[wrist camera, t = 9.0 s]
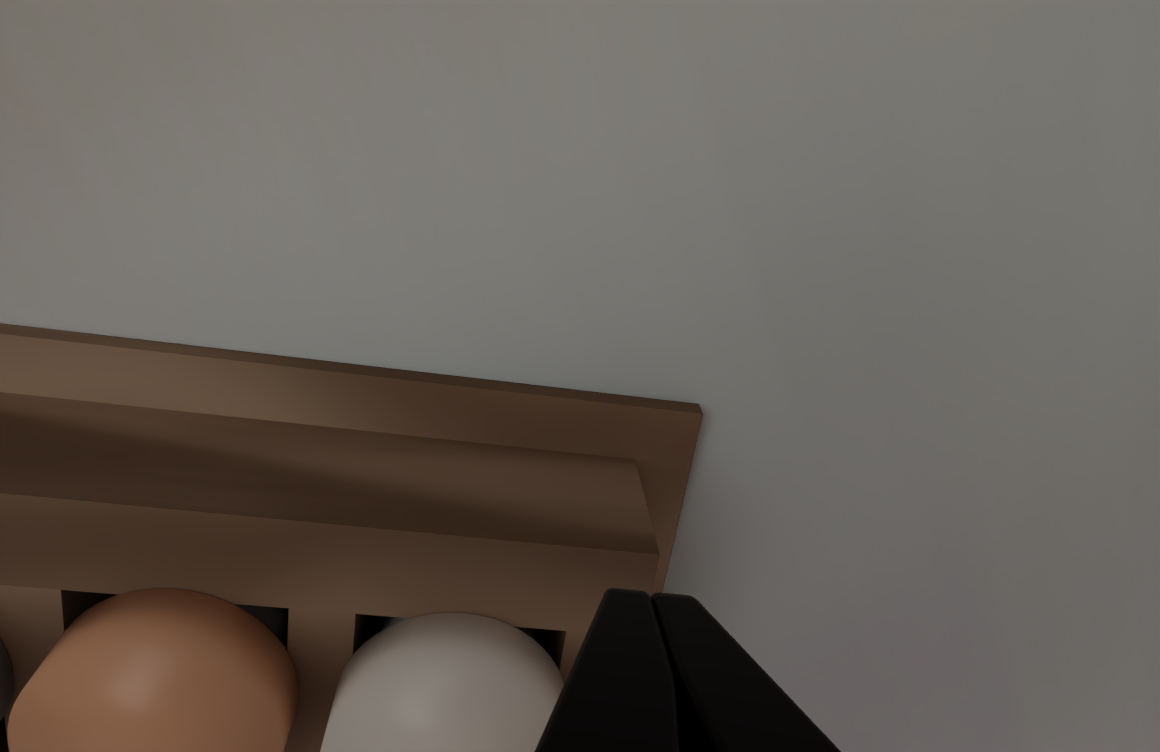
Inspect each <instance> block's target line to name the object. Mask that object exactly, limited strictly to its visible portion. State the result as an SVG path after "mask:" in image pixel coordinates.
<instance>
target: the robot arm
mask: <svg viewBox="0 0 1160 752" xmlns="http://www.w3.org/2000/svg"><path fill="white" fill-rule="evenodd" d="M535 752H841V751H840V750H839V749H838V748H837V747H836V746H835V745H834V744H833V743H832V742H831V741H830V739H829V738H828V737H827V736H826V735H825V734H824V733H823V732H822V731H821V730H820V729H819V728H818V727H817V726H816V725H815V724H814V723H813V722H812V720H811V719H810V718H809V717H808V716H807V715H806V714H805V713H804V712H803V711H802V710H801V709H800V708H799V707H798V706H797V705H796V704H795V703H794V702H793V700H792V699H791V698H790V697H789V696H788V695H787V694H786V693H785V692H784V691H783V690H782V689H781V688H780V687H779V686H778V685H777V684H776V683H775V681H774V680H773V679H772V678H771V677H770V676H769V675H768V674H767V673H766V672H765V671H764V670H763V669H762V668H761V667H760V666H759V665H758V664H757V662H756V661H755V660H754V659H753V658H752V657H751V656H750V655H749V654H748V653H747V652H746V651H745V650H744V649H743V648H742V647H741V646H740V645H739V643H738V642H737V641H736V640H735V639H734V638H733V637H732V636H731V635H730V634H729V633H728V632H727V631H726V630H725V629H724V628H723V627H722V626H721V625H720V623H719V622H718V621H717V620H716V619H715V618H714V617H713V616H712V615H711V614H710V613H709V612H708V611H707V610H706V609H705V608H704V607H703V606H702V604H701V603H700V602H699V601H698V600H696V599H695V598H694V597H692V596H688V595H679V594H669V593H660V592H657V593H654V594H652V595H651V596H650V595H649V594H648V593H647V592H645V591H640V590H631V589H622V588H609V589H607V590H606V591H605V593H604V595H603V597H602V600H601V602H600V604H599V606H598V609H597V611H596V613H595V615H594V618H593V620H592V622H591V625H590V627H589V629H588V631H587V634H586V636H585V638H584V640H583V643H582V645H581V647H580V650H579V652H578V654H577V656H576V659H575V661H574V663H573V665H572V668H571V670H570V672H569V674H568V677H567V679H566V681H565V684H564V686H563V688H562V690H561V693H560V695H559V697H558V699H557V702H556V704H555V706H554V708H553V711H552V713H551V715H550V718H549V720H548V722H547V724H546V727H545V729H544V731H543V733H542V736H541V738H540V740H539V743H538V745H537V747H536V749H535Z"/></svg>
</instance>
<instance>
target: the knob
mask: <svg viewBox="0 0 1160 752" xmlns="http://www.w3.org/2000/svg"><path fill="white" fill-rule="evenodd" d="M563 686H564V683H563V679H562V677H561V674H560V672H559V669H558V667H557V666H556V664H555V662H554V661H553V659H552V658H551V656H550V655H549V654H548V653H547V652H546V651H545V649H544V648H543V647H542V646H541V645H540V644H538V643H537V642H536V641H535V640H534V628H523V627H513V626H511V625H509V624H507V623H504V622H501V621H499V620H496V619H493V618H489V617H485V616H481V615H474V614H467V613H436V614H428V615H423V616H418V617H414V618H400V617H388V616H385V618H384V623H383V627H382V631H381V632H379V633H377V634H375V635H374V636H373V637H372V638H370V639H369V640H368V641H366V642H365V643H364V644H363V645H362V646H361V647H360V648H359V649H358V650H357V651H356V652H355V653H354V654H353V656H352V657H351V658H350V660H349V661H348V663H347V664H346V666H345V668H344V670H343V672H342V674H341V676H340V679H339V682H338V685H337V689H336V693H335V697H334V701H333V704H332V708H331V712H330V716H329V720H328V723H327V727H326V731H325V735H324V739H323V742H322V746H321V751H320V752H535V749H536V747H537V745H538V743H539V740H540V738H541V736H542V733H543V731H544V729H545V727H546V724H547V722H548V720H549V718H550V715H551V713H552V711H553V708H554V706H555V704H556V702H557V699H558V697H559V695H560V693H561V690H562V688H563Z"/></svg>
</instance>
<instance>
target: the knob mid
mask: <svg viewBox="0 0 1160 752" xmlns="http://www.w3.org/2000/svg"><path fill="white" fill-rule="evenodd" d="M288 615H289V608H278V607H266V606H253V605H241V604H231V603H229V602H226V601H224V600H221V599H218V598H216V597H213V596H210V595H206V594H202V593H198V592H194V591H187V590H180V589H163V588H156V589H143V590H137V591H131V592H126V593H123V594H119V595H116V596H113V597H110V598H108V599H106V600H103V601H101V602H99V603H97V604H95V605H94V606H92V607H90V608H89V609H87V610H86V611H84V612H83V613H82V614H81V615H79V616H78V617H77V618H76V619H75V620H74V621H73V622H72V623H71V624H70V625H69V627H68V628H67V629H66V630H65V631H64V633H63V634H62V636H61V637H60V638H59V640H58V641H57V643H56V644H55V645H54V647H53V648H52V649H51V651H50V652H49V654H48V655H47V656H46V658H45V659H44V661H43V662H42V663H41V665H40V666H39V667H38V669H37V670H36V672H35V673H34V674H33V676H32V677H31V679H30V680H29V681H28V683H27V684H26V685H25V687H24V688H23V690H22V691H21V693H20V694H19V696H18V698H17V699H16V701H15V703H14V705H13V708H12V710H11V713H10V716H9V722H8V728H7V732H8V745H9V750H10V752H284V748H285V745H286V742H287V739H288V736H289V732H290V729H291V726H292V723H293V720H294V716H295V713H296V710H297V707H298V699H299V683H298V678H297V673H296V670H295V667H294V665H293V662H292V659H291V657H290V656H289V654H288V652H287V650H286V649H285V648H286V645H287V642H288Z"/></svg>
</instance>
